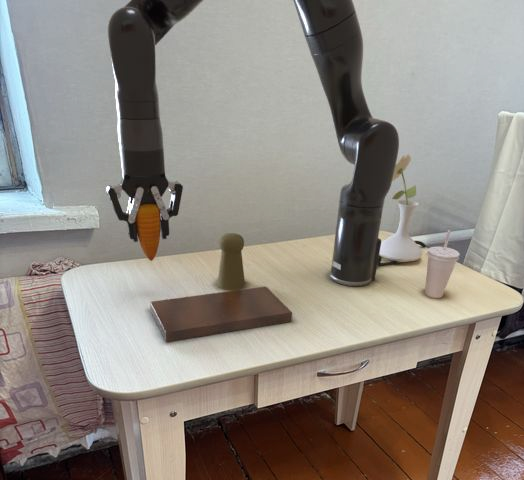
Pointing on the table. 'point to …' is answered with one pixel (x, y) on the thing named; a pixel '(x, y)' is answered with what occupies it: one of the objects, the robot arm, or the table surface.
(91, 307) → the table surface
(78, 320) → the table surface
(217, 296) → the cutting board
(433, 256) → the smoothie
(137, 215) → the carrot
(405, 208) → the flower in vase
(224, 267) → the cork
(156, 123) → the robot arm
